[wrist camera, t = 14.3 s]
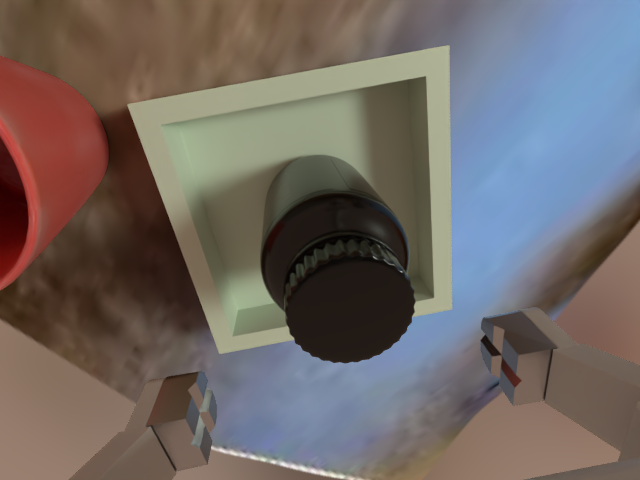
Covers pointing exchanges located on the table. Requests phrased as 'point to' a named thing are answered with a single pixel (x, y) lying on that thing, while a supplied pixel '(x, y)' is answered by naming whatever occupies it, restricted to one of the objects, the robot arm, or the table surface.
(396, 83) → the tray
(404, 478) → the table surface
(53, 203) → the flower pot
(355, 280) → the supplement bottle
